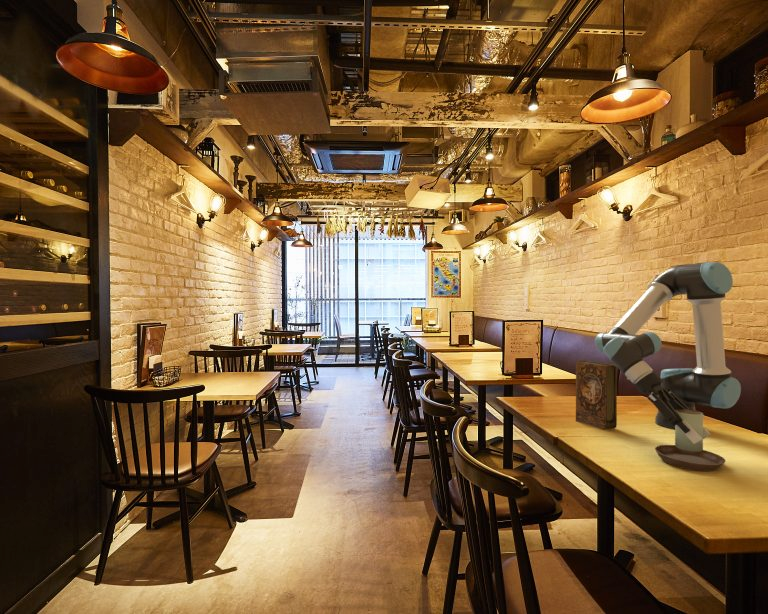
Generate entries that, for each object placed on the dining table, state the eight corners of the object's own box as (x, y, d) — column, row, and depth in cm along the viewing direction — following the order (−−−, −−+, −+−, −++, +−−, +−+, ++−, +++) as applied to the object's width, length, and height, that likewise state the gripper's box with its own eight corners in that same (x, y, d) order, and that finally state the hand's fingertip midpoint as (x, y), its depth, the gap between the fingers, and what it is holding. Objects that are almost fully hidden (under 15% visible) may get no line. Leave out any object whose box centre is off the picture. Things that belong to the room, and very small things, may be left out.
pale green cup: (695, 445, 137) (695, 409, 137) (707, 452, 130) (708, 414, 130) (670, 443, 138) (671, 408, 138) (682, 450, 131) (682, 413, 131)
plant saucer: (720, 460, 137) (720, 450, 137) (730, 478, 122) (730, 467, 122) (654, 450, 146) (654, 441, 146) (655, 466, 131) (655, 456, 131)
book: (573, 420, 185) (573, 361, 185) (583, 419, 187) (583, 360, 187) (606, 430, 169) (606, 365, 169) (616, 429, 171) (616, 365, 171)
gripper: (647, 382, 152) (702, 439, 140) (622, 388, 140) (680, 452, 127) (664, 368, 148) (723, 426, 135) (640, 373, 136) (702, 438, 123)
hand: (702, 439), depth 131 cm, fingers closed on pale green cup, 7 cm apart
